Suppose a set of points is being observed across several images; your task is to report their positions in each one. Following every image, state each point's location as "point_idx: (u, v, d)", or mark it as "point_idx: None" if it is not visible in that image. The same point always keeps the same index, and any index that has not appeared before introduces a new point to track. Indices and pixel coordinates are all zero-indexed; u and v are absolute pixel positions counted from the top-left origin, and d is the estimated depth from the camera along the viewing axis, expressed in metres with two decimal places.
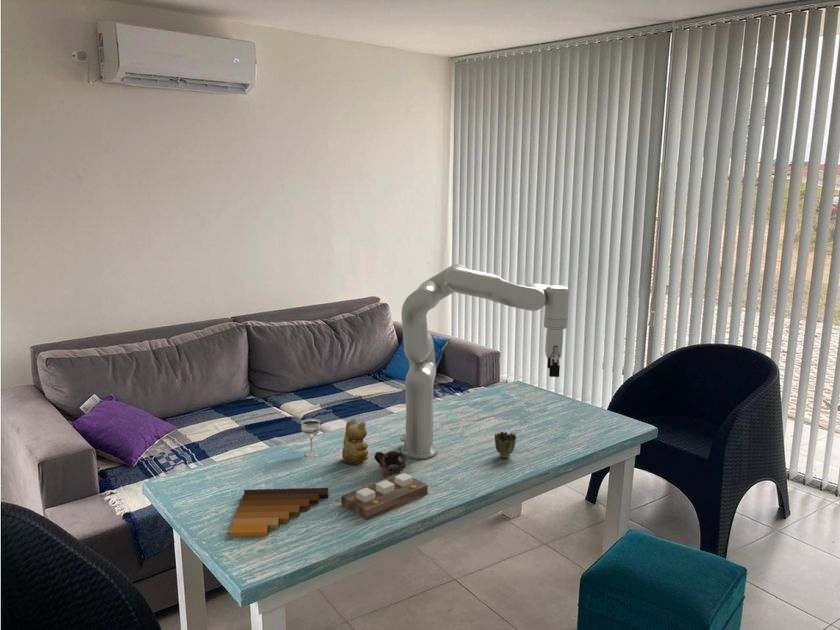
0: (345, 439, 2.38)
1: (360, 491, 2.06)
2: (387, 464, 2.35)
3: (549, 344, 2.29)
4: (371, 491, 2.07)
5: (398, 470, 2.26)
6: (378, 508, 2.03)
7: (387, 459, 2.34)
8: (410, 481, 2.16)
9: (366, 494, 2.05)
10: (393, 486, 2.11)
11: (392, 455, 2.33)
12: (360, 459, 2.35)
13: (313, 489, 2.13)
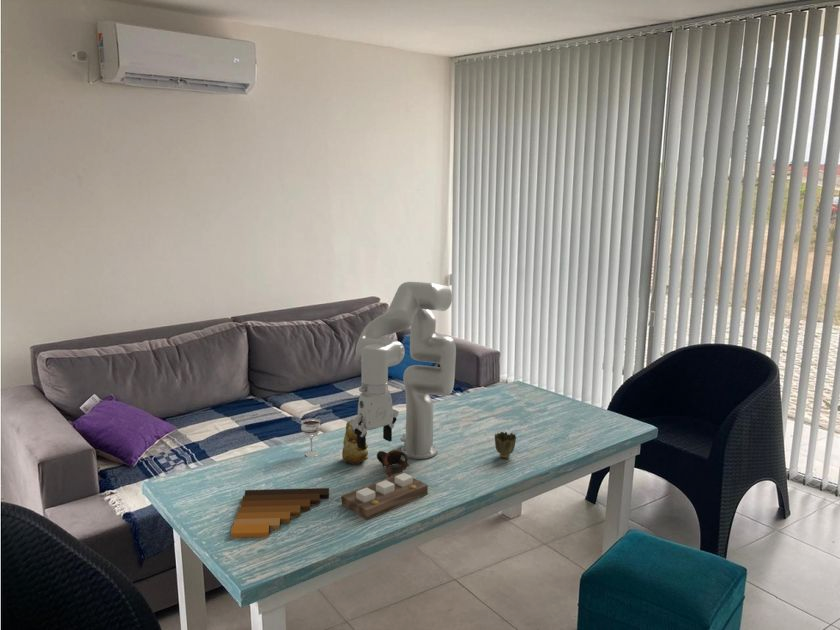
0: (345, 439, 2.38)
1: (360, 491, 2.06)
2: (389, 463, 2.35)
3: None
4: (371, 491, 2.07)
5: (401, 469, 2.27)
6: (378, 508, 2.03)
7: (389, 458, 2.35)
8: (410, 481, 2.16)
9: (366, 494, 2.05)
10: (393, 486, 2.11)
11: (394, 454, 2.34)
12: (360, 459, 2.35)
13: (314, 489, 2.13)
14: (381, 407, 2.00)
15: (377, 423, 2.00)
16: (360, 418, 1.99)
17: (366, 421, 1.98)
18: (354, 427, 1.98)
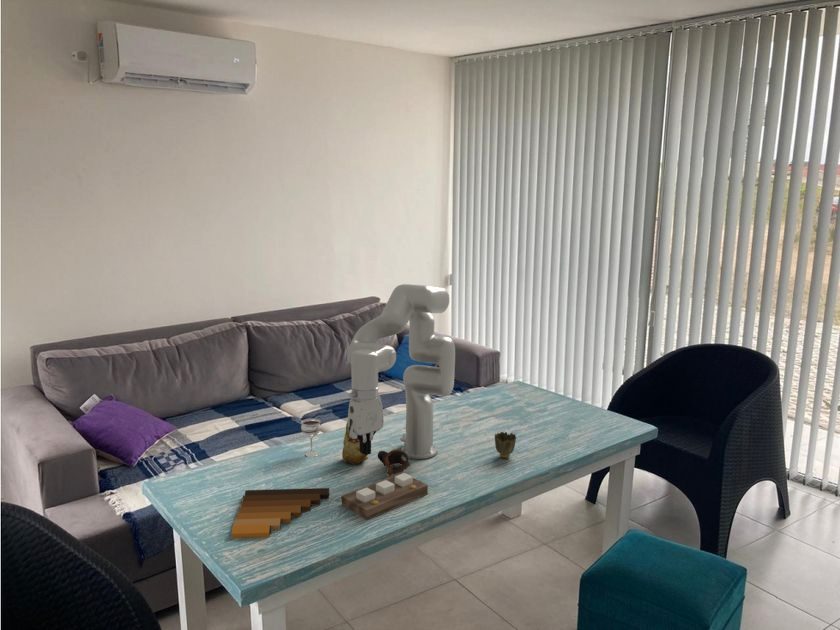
0: (345, 439, 2.38)
1: (360, 491, 2.06)
2: (390, 463, 2.36)
3: None
4: (371, 491, 2.07)
5: (402, 469, 2.27)
6: (378, 508, 2.03)
7: (390, 458, 2.35)
8: (410, 481, 2.16)
9: (366, 494, 2.05)
10: (393, 486, 2.11)
11: (395, 454, 2.35)
12: (360, 459, 2.35)
13: (314, 489, 2.13)
14: (371, 412, 1.99)
15: (367, 428, 1.99)
16: None
17: (356, 426, 1.97)
18: (355, 437, 1.99)
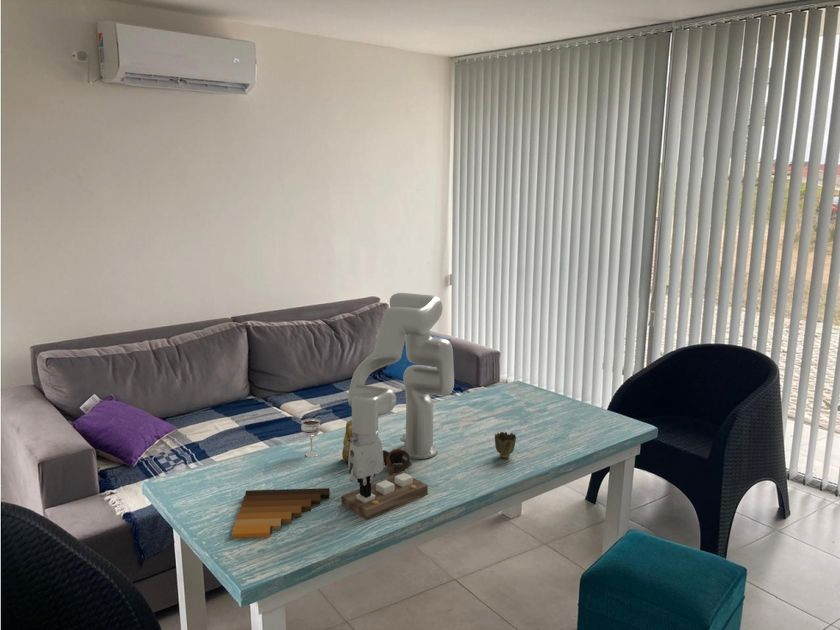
0: (345, 439, 2.38)
1: None
2: (391, 462, 2.36)
3: None
4: (371, 495, 2.07)
5: (403, 468, 2.28)
6: (378, 508, 2.03)
7: (391, 458, 2.35)
8: (410, 481, 2.16)
9: (366, 498, 2.05)
10: (393, 486, 2.11)
11: (396, 453, 2.35)
12: None
13: (315, 489, 2.13)
14: (371, 456, 2.02)
15: (368, 472, 2.02)
16: None
17: (357, 470, 1.99)
18: (355, 480, 2.02)
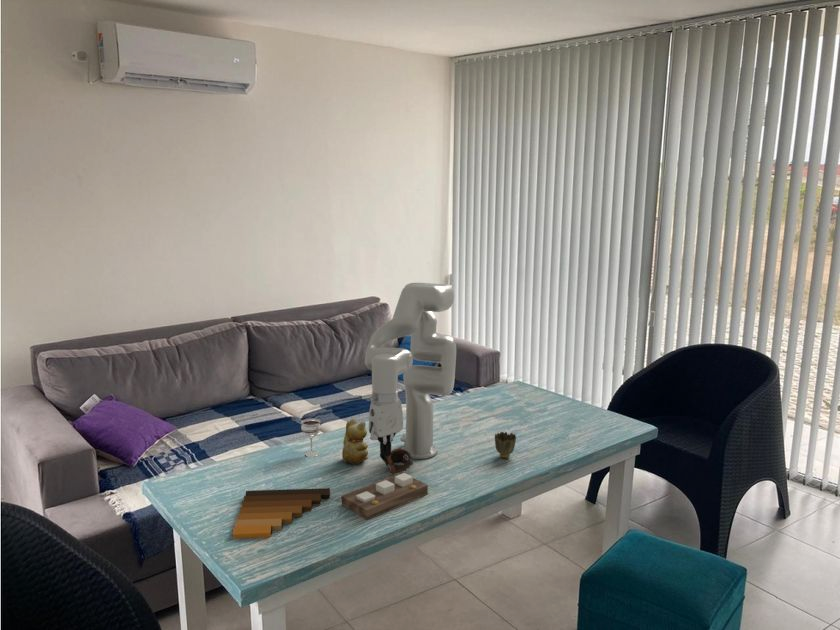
0: (345, 439, 2.38)
1: (360, 495, 2.07)
2: (392, 462, 2.37)
3: None
4: (371, 495, 2.07)
5: (404, 467, 2.28)
6: (378, 508, 2.03)
7: (392, 457, 2.36)
8: (410, 481, 2.16)
9: (366, 498, 2.05)
10: (393, 486, 2.11)
11: (397, 453, 2.35)
12: (360, 459, 2.35)
13: (315, 490, 2.13)
14: (392, 415, 2.05)
15: (388, 430, 2.05)
16: None
17: (377, 429, 2.03)
18: (376, 438, 2.05)
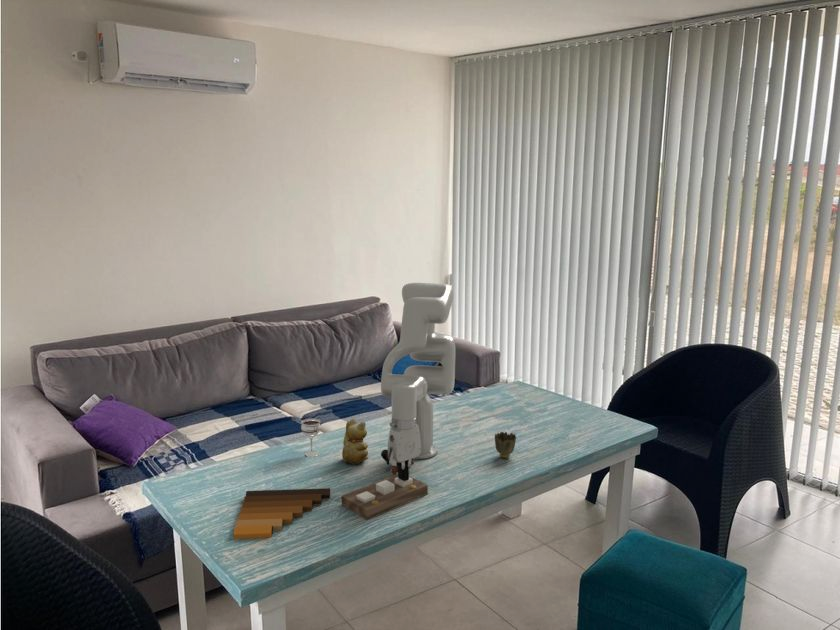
0: (345, 439, 2.38)
1: (360, 495, 2.07)
2: None
3: None
4: (371, 495, 2.07)
5: None
6: (378, 508, 2.03)
7: None
8: (410, 482, 2.16)
9: (366, 498, 2.05)
10: (393, 486, 2.11)
11: None
12: (360, 459, 2.35)
13: (315, 490, 2.13)
14: (410, 441, 2.12)
15: (406, 456, 2.12)
16: None
17: (396, 454, 2.09)
18: (395, 464, 2.12)
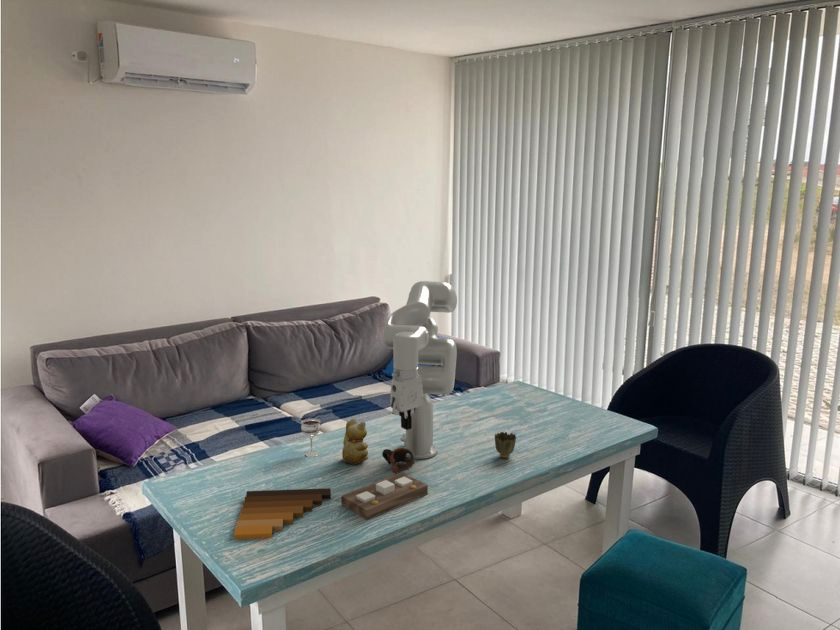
0: (345, 439, 2.38)
1: (360, 495, 2.07)
2: (394, 461, 2.37)
3: None
4: (371, 495, 2.07)
5: (407, 466, 2.29)
6: (378, 508, 2.03)
7: (394, 456, 2.36)
8: (410, 484, 2.16)
9: (366, 498, 2.05)
10: (393, 486, 2.11)
11: (400, 452, 2.36)
12: (360, 459, 2.35)
13: (316, 490, 2.13)
14: (412, 390, 2.13)
15: (409, 405, 2.13)
16: None
17: (399, 404, 2.11)
18: (397, 413, 2.13)
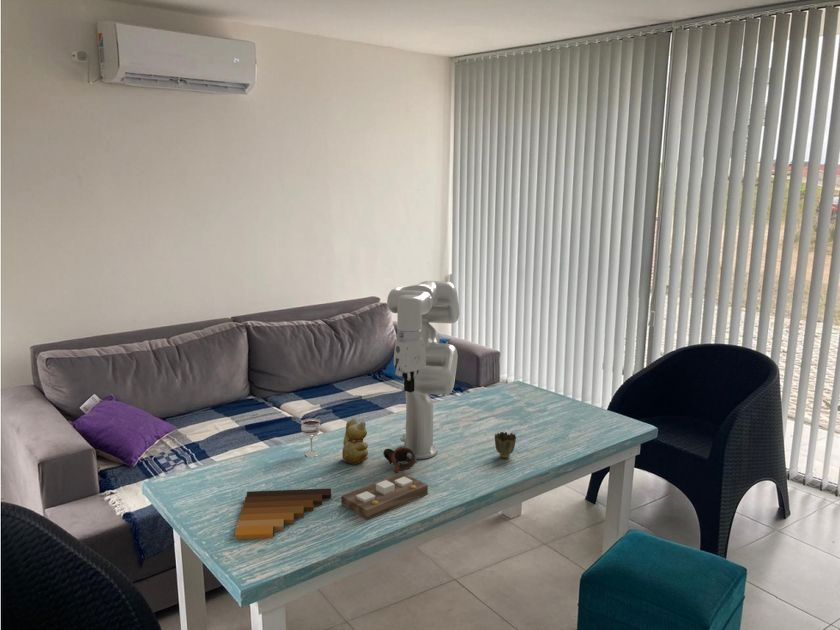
0: (345, 439, 2.38)
1: (360, 495, 2.07)
2: None
3: None
4: (371, 495, 2.07)
5: (409, 466, 2.30)
6: (378, 508, 2.03)
7: (395, 456, 2.37)
8: (410, 484, 2.16)
9: (366, 498, 2.05)
10: (393, 486, 2.11)
11: (401, 451, 2.36)
12: (360, 459, 2.35)
13: (316, 490, 2.12)
14: (416, 352, 2.17)
15: (412, 367, 2.17)
16: None
17: (402, 364, 2.15)
18: (400, 374, 2.18)
